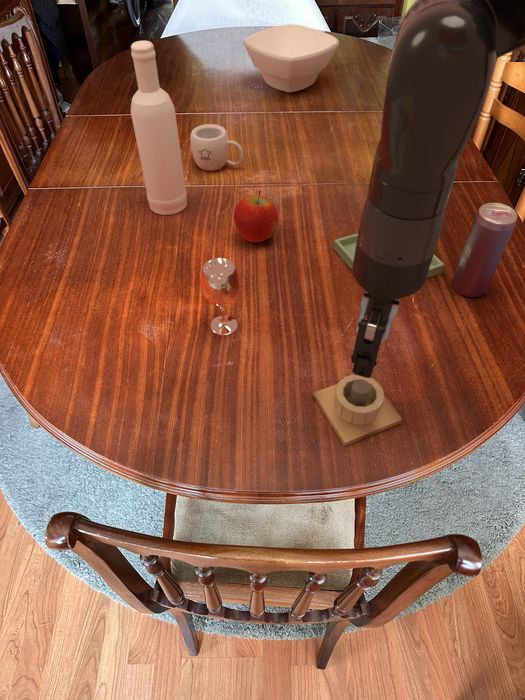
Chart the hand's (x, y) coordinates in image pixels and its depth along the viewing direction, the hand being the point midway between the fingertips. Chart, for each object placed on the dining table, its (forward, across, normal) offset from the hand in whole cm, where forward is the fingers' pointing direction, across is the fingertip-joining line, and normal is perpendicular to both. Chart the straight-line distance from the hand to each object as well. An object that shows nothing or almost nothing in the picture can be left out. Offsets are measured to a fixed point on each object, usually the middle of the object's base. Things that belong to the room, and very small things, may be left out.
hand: (370, 348), depth 61 cm
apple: (+14, +32, +28) cm, 44 cm away
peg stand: (+13, 0, 0) cm, 13 cm away
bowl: (+14, +101, +44) cm, 111 cm away
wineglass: (+14, +8, +24) cm, 29 cm away
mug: (+14, +54, +45) cm, 72 cm away
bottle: (+14, +36, +49) cm, 62 cm away
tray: (+13, +34, +3) cm, 37 cm away
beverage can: (+13, +32, -12) cm, 37 cm away
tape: (+12, 0, 0) cm, 12 cm away
